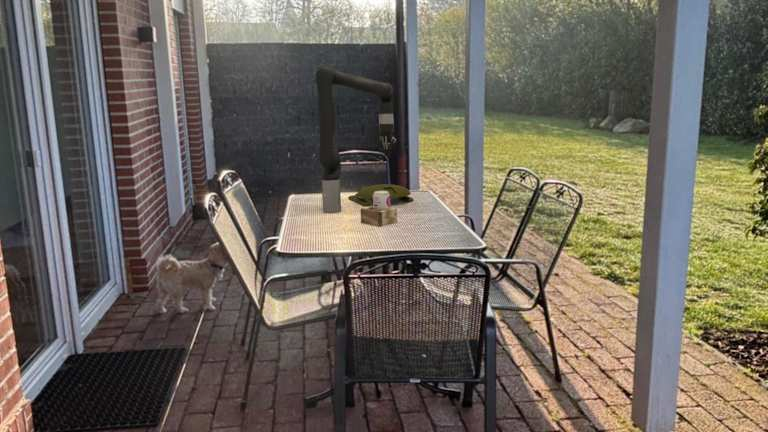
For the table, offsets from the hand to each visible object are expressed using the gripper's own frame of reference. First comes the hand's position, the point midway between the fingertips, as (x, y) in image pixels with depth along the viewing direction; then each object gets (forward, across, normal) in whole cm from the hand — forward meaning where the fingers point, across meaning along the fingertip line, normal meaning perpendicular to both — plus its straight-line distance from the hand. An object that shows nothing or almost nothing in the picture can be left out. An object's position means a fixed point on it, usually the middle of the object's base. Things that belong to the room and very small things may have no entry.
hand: (387, 156), depth 337 cm
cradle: (+29, +16, -22) cm, 40 cm away
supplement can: (+29, +16, -21) cm, 39 cm away
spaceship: (+30, -25, +20) cm, 44 cm away
